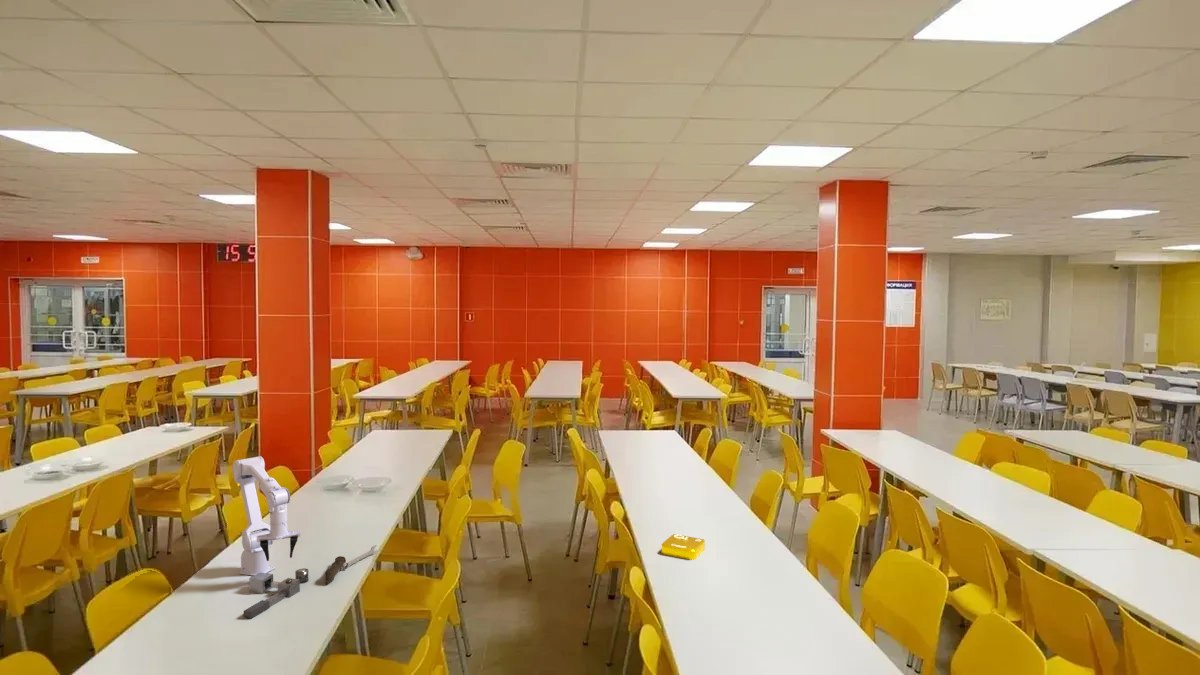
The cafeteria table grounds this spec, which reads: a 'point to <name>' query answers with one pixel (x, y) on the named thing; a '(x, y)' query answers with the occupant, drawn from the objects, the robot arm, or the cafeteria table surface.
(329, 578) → the rough brown wooden log
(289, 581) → the ratchet
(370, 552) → the combination wrench
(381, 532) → the cafeteria table surface
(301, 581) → the socket
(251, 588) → the grey block
